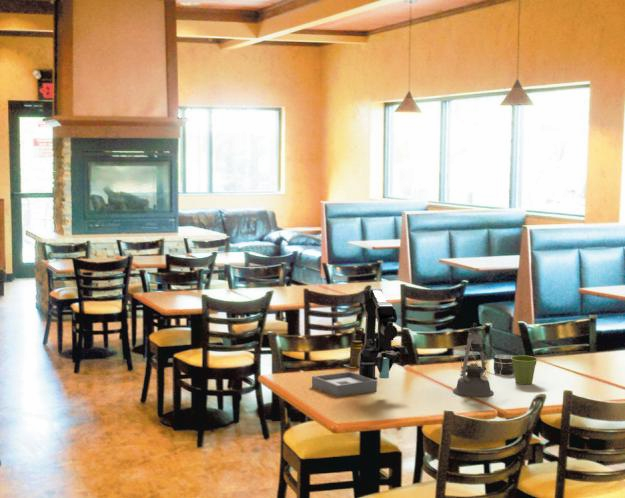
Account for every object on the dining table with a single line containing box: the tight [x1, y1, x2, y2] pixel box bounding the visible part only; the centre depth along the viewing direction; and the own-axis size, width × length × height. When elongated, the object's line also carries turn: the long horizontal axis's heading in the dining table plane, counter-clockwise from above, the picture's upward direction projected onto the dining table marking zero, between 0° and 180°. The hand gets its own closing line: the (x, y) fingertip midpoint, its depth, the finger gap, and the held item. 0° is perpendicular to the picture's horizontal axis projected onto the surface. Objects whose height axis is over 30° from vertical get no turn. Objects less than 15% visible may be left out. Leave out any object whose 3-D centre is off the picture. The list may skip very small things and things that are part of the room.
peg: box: [378, 357, 390, 379], centre depth 407 cm, size 4×4×8 cm
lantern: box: [452, 322, 502, 398], centre depth 413 cm, size 18×20×30 cm
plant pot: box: [511, 355, 539, 385], centre depth 434 cm, size 12×12×11 cm
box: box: [311, 371, 378, 397], centre depth 419 cm, size 20×20×4 cm
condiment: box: [343, 339, 363, 369], centre depth 465 cm, size 7×8×12 cm
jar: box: [493, 354, 514, 376], centre depth 454 cm, size 10×10×8 cm
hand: (384, 371), depth 408 cm, fingers closed on peg, 4 cm apart
